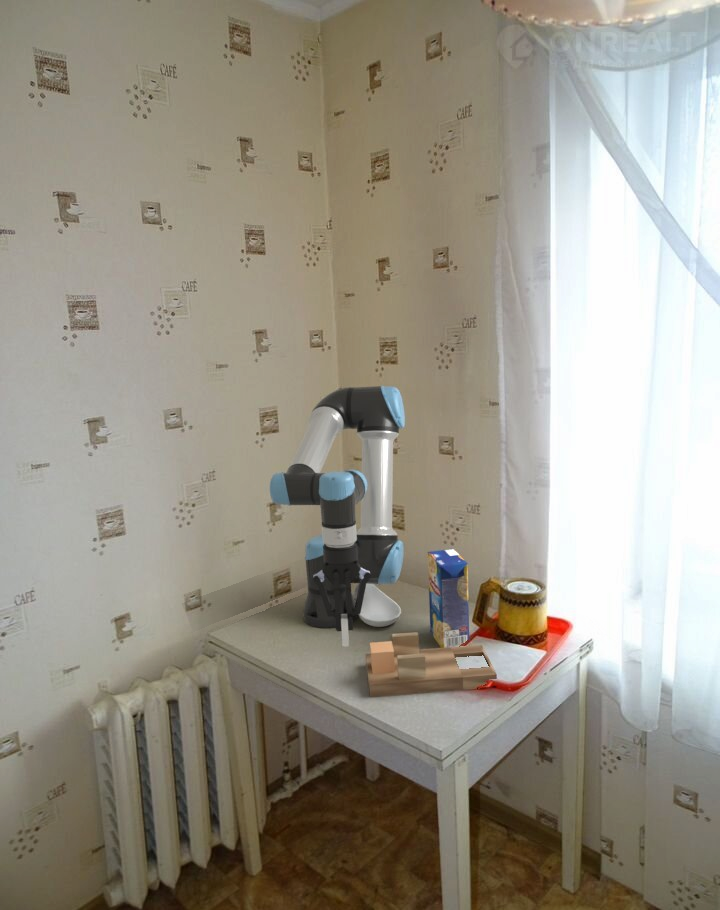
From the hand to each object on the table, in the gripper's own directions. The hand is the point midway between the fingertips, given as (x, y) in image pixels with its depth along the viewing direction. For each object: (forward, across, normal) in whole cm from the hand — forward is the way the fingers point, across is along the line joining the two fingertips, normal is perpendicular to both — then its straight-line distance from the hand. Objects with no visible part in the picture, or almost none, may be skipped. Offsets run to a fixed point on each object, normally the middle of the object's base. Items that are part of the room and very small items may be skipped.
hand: (345, 643), depth 151 cm
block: (+7, +8, 0) cm, 11 cm away
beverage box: (+10, +27, +18) cm, 33 cm away
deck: (+10, +19, +1) cm, 21 cm away
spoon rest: (+10, +8, +36) cm, 38 cm away
